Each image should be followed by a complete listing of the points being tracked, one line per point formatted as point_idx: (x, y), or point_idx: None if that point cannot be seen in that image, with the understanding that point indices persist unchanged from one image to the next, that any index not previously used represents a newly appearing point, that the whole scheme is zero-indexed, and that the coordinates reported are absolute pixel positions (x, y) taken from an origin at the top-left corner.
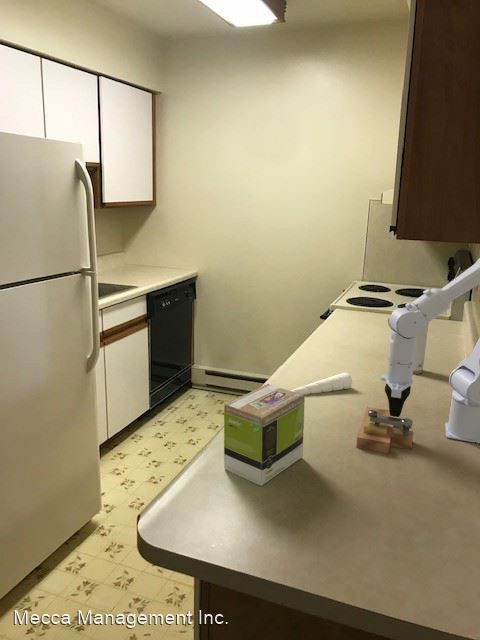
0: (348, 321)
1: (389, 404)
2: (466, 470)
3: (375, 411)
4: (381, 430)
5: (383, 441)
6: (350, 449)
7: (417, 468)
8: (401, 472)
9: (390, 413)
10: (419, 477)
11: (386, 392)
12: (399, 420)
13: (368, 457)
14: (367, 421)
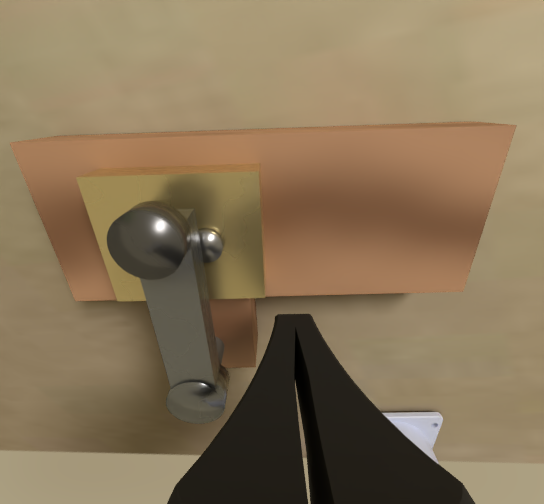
0: None
1: (257, 372)
2: (152, 443)
3: (161, 266)
4: (112, 274)
5: (69, 277)
6: (13, 110)
7: (70, 356)
8: (3, 320)
9: (275, 325)
10: (19, 362)
11: (172, 499)
12: (184, 375)
13: (9, 206)
14: (164, 187)
